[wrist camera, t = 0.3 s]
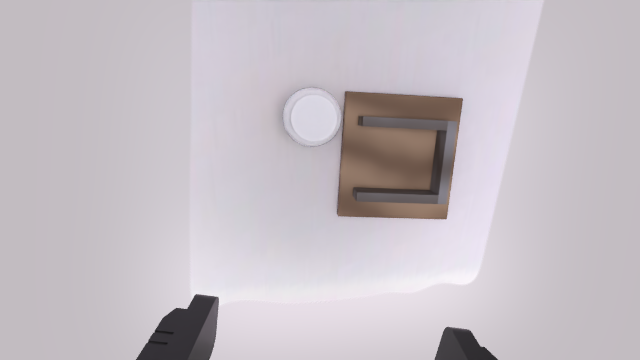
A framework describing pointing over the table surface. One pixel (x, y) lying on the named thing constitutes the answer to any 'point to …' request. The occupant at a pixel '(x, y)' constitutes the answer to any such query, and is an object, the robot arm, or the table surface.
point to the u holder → (397, 155)
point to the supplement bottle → (311, 116)
